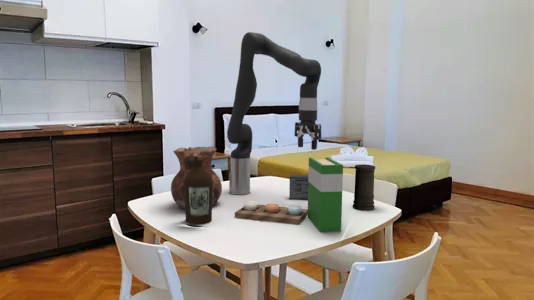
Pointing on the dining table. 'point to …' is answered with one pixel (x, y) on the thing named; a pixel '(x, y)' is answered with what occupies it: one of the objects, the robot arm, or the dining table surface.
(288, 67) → the robot arm
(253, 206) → the white button
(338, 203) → the hardback book
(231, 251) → the dining table surface
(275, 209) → the terracotta button
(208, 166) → the brown clay vase
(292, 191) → the small box
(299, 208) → the pale blue button
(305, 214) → the brown slotted panel
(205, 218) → the olive oil
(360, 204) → the container
